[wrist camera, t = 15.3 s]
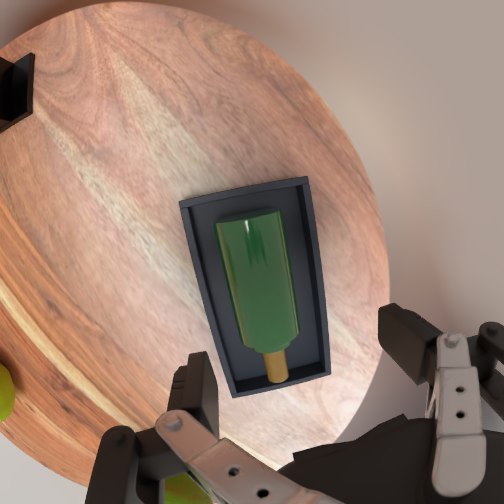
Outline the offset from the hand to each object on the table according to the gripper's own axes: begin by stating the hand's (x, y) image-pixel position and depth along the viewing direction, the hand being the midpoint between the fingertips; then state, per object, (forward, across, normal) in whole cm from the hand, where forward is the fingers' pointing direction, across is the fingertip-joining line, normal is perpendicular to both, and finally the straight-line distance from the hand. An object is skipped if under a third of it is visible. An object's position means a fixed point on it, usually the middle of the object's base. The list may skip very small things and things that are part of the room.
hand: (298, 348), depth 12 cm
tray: (+14, 0, +3) cm, 14 cm away
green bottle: (+13, 0, +3) cm, 13 cm away
